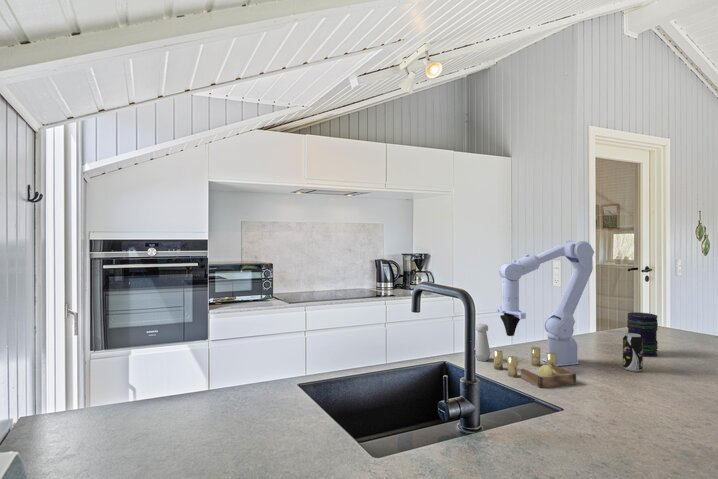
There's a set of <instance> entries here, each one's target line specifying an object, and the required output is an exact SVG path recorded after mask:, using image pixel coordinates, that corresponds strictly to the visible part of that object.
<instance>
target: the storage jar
mask: <svg viewBox="0 0 718 479" xmlns="http://www.w3.org/2000/svg"><path fill="white" fill-rule="evenodd" d="M658 324H659V323H658V315H657V314H655V313H650V312H649V313H647V312H633V311H632V312H627V320H626V325H627V326H626V327H627V333H634V334H639V335H641V338H642V340H643V358H644V357H645V358H655V357H658V348H659V346H658V344H659V343H658V340H657V336H658V335H657V332H658V329H659V328H658Z"/></svg>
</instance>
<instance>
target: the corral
mask: <svg viewBox="0 0 718 479" xmlns="http://www.w3.org/2000/svg"><path fill="white" fill-rule="evenodd" d="M553 370H554V371H555V372H556V374H557V375H550V376H541V377H540V376H539V375H538V374H537V373H533V372H532V371H530V370H527V369H525V368H521V369H520V379H521V380H523V381H526V382H527V383H529V384H532V385H533V386H535V387H537V388H539V389H542V388H550V387H559V386H567V385H568V386H570V385H576V384H577V374H576V373H575V372H571V371H570V370H567V369H565V368H562V367H561V366H553Z"/></svg>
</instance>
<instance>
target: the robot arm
mask: <svg viewBox="0 0 718 479" xmlns="http://www.w3.org/2000/svg"><path fill="white" fill-rule="evenodd" d="M594 254H595V250H594V248H593V246H592V245H591V243H589V241H585V240H583V241H582V240H581V241H576V240H568V241H565V242H562V243H558V244H557V245H555V246H552V247H551V248H549V249H546V250H545V251H542V252H541V253H539V254H537V255H535V254H532V253H526V254H523V257H520V258H519V259H513V260H511V263H504V264H502V266H501V267H500V269H499V270H498V272H499V273H498V274H499V275H500V277H501V306H500V305H499V306H495V307H496V313H501V315H500V316H499V317H500V319H501V321H502V323H503V326H504V329H505V334H506V336H507V337H514V336H515V332H516V329H517V326H518V325H519V322H520V320H524V319H527V314H526V312H523V311H522V310H520V279H521V278H522V276H525V275H527V274H529V273H532V272H533V271H536V270H538V269H540V266H541V264H544V263H546V262H550V261H552V260H554V259H557V258H559V257H565V258H566V259H567V260H568V261H569V263H571V265H572V267H573V268H574V269H573V271H572V274H571V277H570V279H569V281H568V283H567V285H566V287H565V291H564V292H563V295H562V297H561V300H560V302H559V304H558V306H557V308H556V309H555V310H553V311H552V312H551V313H550V316H549V317H548V318H546V320H545V321H544V322H543V324H544V325H543V326H544V330H545V331H546V332H547V353H556V354H557V366H558V367H563V366H573V365H579V364H580V363H579V361H578V344H577V341H576V339H575V338H573V337H572V336H573V334H574V331H575V330H574V326H575V322H576V321H575V317H574V314H575V311H576V309H577V307H578V304H579V303H580V299H581V298H582V295H583V292H584V291H585V288H586V286H587V284H588V282H589V279H590V276H591V274H592V272H593V270H594V268H593V267H594V265H593V257H594ZM541 361H544V362H546V363H547V357H544V358H542V359H541Z"/></svg>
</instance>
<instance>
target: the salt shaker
mask: <svg viewBox="0 0 718 479" xmlns="http://www.w3.org/2000/svg"><path fill="white" fill-rule="evenodd" d="M475 330H476V331H477V332H476V339H475V344H476V350H477V353H476V357H475V359H476V358H477V360H476V361H479V362H487V360H488V361H489V359H490V357H491V349H490V344H489V339H488V333H487V332H488V330H489V325H488V324H486V323H477V324H476V326H475Z"/></svg>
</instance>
